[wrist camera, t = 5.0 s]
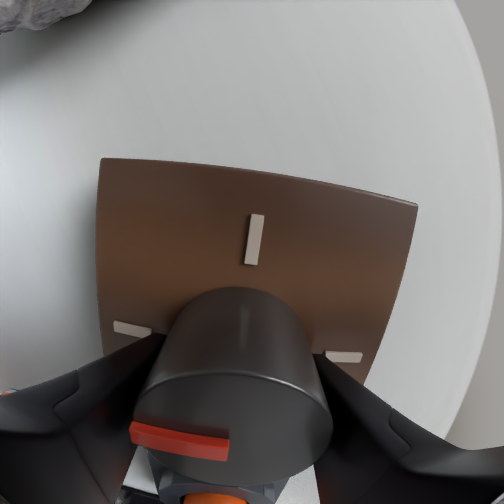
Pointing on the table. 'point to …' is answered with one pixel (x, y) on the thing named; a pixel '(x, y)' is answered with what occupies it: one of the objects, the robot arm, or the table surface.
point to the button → (211, 499)
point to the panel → (248, 251)
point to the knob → (234, 393)
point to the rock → (36, 13)
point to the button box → (208, 487)
